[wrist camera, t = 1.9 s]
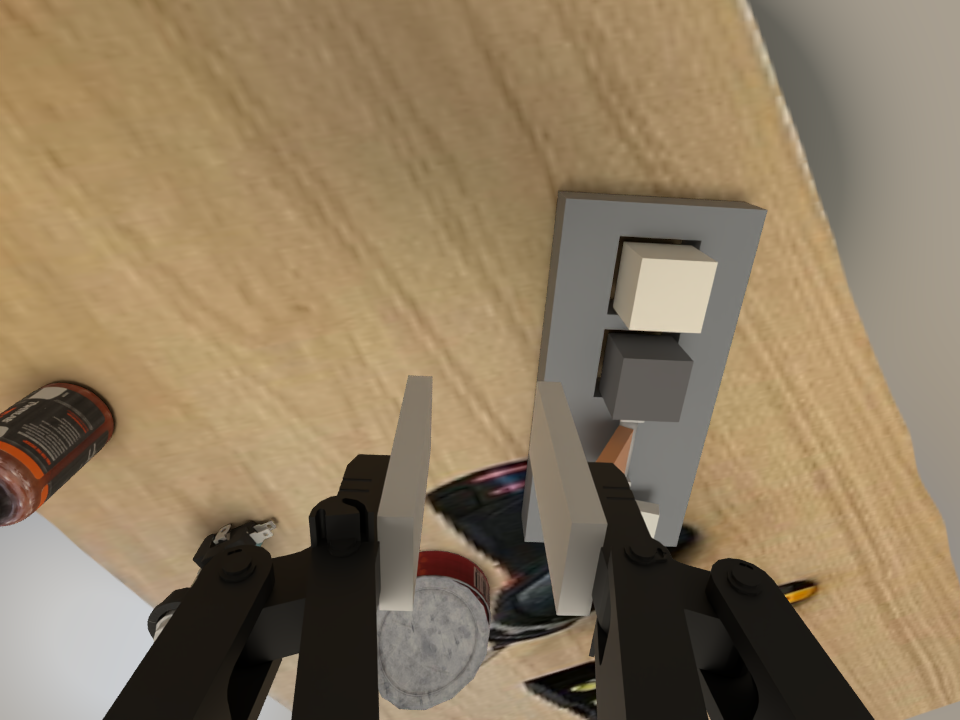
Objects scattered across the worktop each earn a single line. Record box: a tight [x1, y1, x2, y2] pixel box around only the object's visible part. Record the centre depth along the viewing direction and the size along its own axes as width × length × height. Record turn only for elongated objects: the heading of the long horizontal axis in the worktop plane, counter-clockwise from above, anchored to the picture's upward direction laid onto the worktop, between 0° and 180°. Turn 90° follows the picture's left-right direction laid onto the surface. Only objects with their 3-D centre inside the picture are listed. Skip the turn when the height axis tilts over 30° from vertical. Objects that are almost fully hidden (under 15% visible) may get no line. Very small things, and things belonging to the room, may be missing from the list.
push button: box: [148, 521, 277, 642], centre depth 42 cm, size 7×5×10 cm
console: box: [521, 191, 767, 546], centre depth 39 cm, size 26×12×4 cm, turn 177°
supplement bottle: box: [0, 383, 114, 526], centre depth 36 cm, size 6×6×11 cm
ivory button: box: [613, 242, 718, 333], centre depth 33 cm, size 4×4×4 cm
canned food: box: [377, 551, 491, 710], centre depth 47 cm, size 11×10×10 cm
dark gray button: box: [599, 333, 694, 422], centre depth 35 cm, size 4×4×4 cm
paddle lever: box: [596, 422, 638, 477], centre depth 36 cm, size 4×1×8 cm, turn 177°
